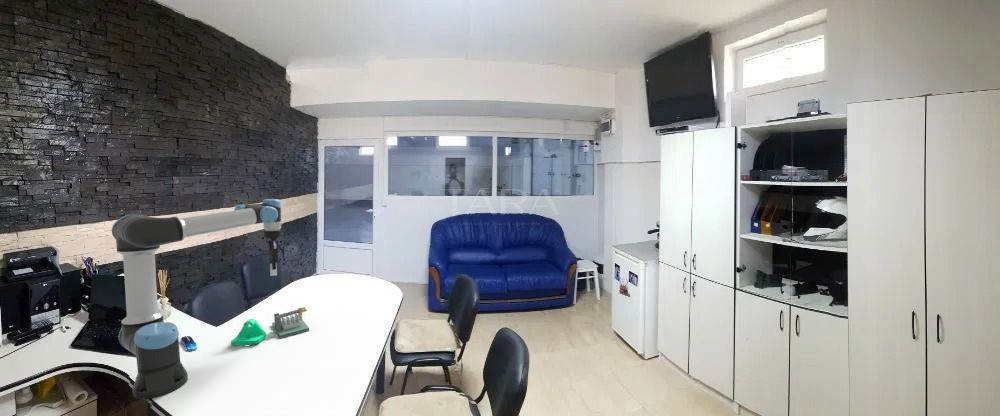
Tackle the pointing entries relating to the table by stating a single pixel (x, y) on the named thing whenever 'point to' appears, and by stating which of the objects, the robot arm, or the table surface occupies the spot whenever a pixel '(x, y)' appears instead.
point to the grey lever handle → (293, 312)
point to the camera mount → (249, 334)
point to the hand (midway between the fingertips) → (273, 275)
